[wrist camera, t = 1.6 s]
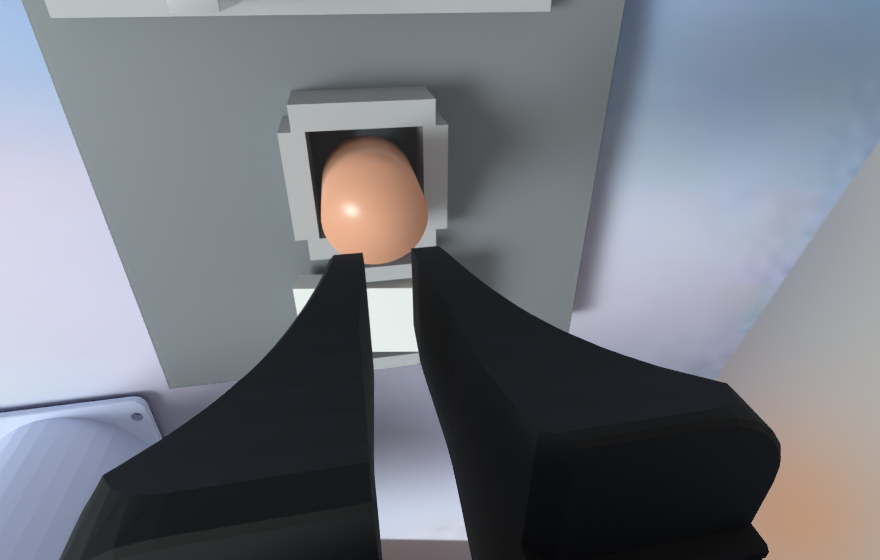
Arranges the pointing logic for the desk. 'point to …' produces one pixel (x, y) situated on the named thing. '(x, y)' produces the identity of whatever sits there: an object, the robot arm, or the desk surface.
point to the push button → (371, 200)
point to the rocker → (377, 311)
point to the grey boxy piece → (200, 5)
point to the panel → (327, 148)
